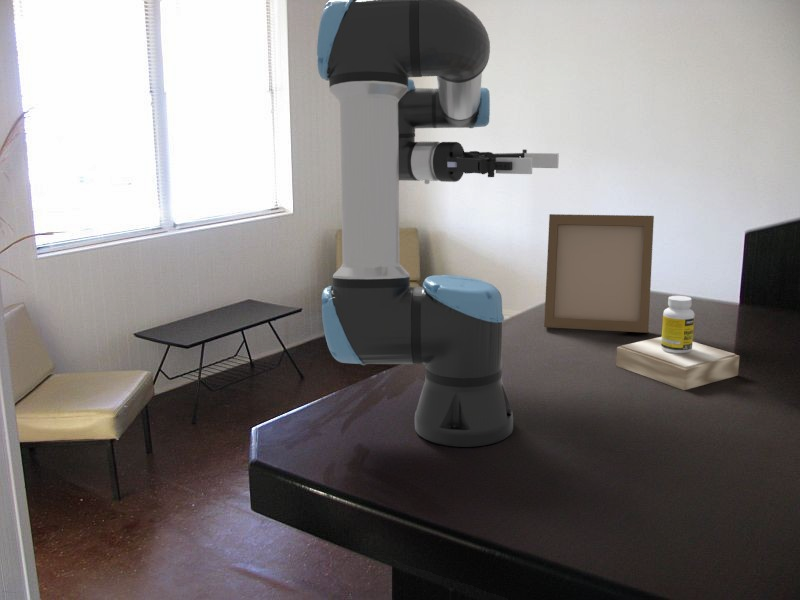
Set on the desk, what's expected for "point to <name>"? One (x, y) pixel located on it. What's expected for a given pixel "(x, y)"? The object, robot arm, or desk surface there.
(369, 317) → the robot arm
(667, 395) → the desk surface
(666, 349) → the supplement bottle
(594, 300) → the photo frame
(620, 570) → the desk surface
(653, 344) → the pedestal
